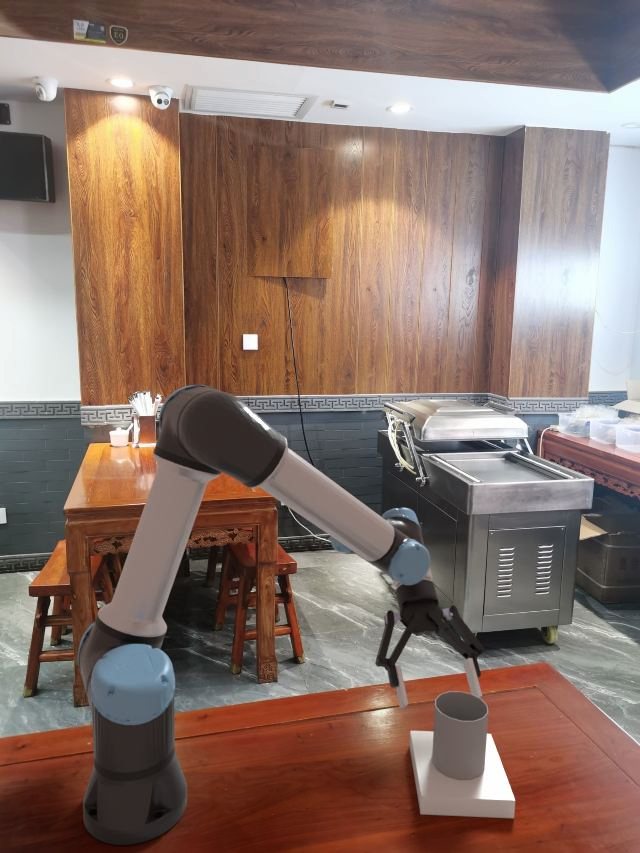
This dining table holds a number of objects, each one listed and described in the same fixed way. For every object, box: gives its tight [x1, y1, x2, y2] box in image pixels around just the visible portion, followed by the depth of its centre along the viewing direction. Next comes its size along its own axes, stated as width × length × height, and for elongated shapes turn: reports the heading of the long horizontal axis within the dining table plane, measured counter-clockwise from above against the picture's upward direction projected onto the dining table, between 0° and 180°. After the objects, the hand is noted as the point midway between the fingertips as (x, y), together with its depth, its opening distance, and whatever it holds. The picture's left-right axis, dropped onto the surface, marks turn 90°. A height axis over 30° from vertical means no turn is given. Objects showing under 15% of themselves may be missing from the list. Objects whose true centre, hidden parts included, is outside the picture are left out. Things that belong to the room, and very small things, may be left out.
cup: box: [432, 690, 489, 780], centre depth 104 cm, size 8×8×10 cm
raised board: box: [409, 730, 516, 819], centre depth 105 cm, size 14×16×3 cm
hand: (441, 702), depth 112 cm, fingers open, 13 cm apart
